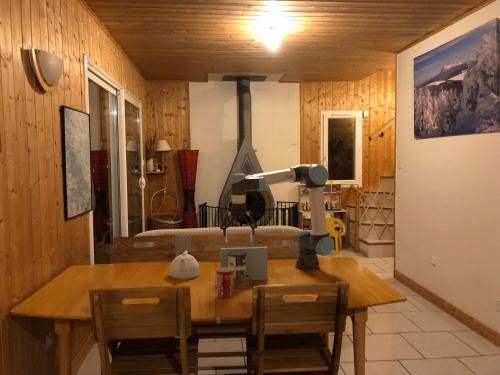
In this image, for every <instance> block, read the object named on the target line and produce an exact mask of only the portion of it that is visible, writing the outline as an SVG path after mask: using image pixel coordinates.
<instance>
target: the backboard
mask: <svg viewBox="0 0 500 375" xmlns="http://www.w3.org/2000/svg"><path fill="white" fill-rule="evenodd" d="M231 251H244V252H246V253H247V254H246V275H248V276H249V278H252V281H255V280H256V281H258V280H260V281H261V280H268V247H267V246H255V247H248V246H247V247H226V248H225V247H221V248H220V268H222V267H228V252H231Z"/></svg>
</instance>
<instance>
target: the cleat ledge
mask: <svg viewBox="0 0 500 375" xmlns="http://www.w3.org/2000/svg"><path fill="white" fill-rule="evenodd" d="M252 282H253V280H252V278H249V276H248V275H246V278H233V289H248V288H249V289H250V288H253V287H252V286H253V283H252Z"/></svg>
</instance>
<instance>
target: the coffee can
mask: <svg viewBox="0 0 500 375" xmlns="http://www.w3.org/2000/svg"><path fill="white" fill-rule="evenodd" d="M246 254H247V253H246V252H244V251H231V252H228V267H229V268H233V269H234V277H233V278H246Z"/></svg>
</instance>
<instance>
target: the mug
mask: <svg viewBox="0 0 500 375" xmlns="http://www.w3.org/2000/svg"><path fill="white" fill-rule="evenodd" d="M215 274H216V285H217V287H216V290H217V297H218V298H219V299H230V298H232V297H233V296H234V288H233V277H234V269H233V268H229V267H222V268H221V267H218V268H216V269H215Z"/></svg>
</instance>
